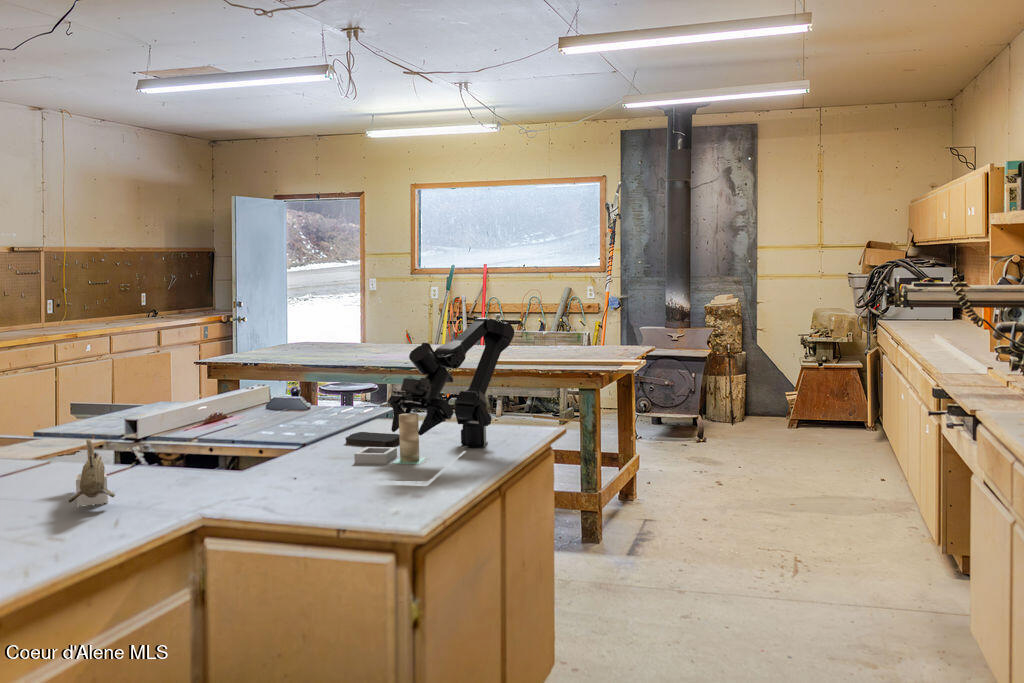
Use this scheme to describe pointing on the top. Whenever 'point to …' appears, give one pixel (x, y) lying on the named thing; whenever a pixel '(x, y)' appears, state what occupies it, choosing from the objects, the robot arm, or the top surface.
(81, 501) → the wood carving
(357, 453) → the jig board
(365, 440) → the black sponge
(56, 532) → the top surface
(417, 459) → the maple post
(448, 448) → the top surface
